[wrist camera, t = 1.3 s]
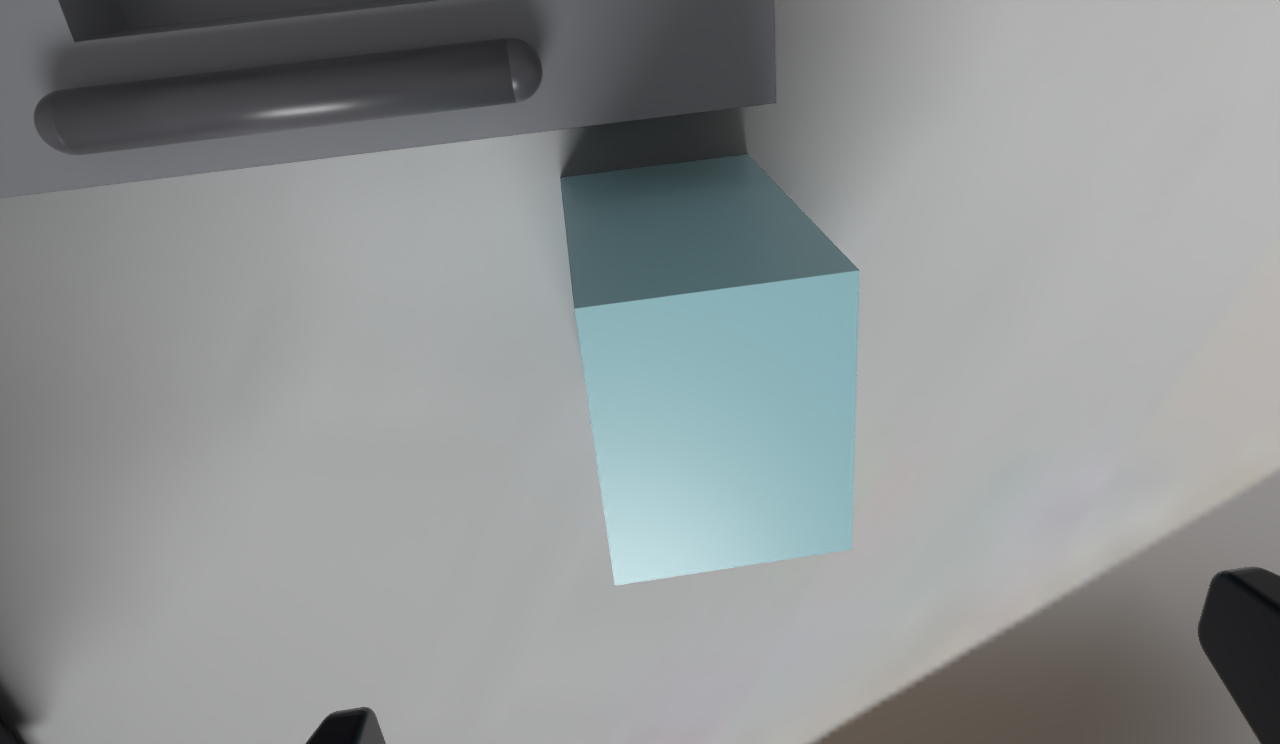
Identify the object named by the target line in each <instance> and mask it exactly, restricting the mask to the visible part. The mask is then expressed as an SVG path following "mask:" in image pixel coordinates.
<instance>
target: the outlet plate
mask: <svg viewBox="0 0 1280 744" xmlns="http://www.w3.org/2000/svg"><path fill="white" fill-rule="evenodd" d="M772 103H776V71H775V21H774V0H0V198H5V197H13V196H21V195H29V194H37V193H45V192H54V191H62V190H70V189H78V188H86V187H94V186H103V185H111V184H119V183H127V182H135V181H143V180H152V179H160V178H168V177H176V176H184V175H192V174H201V173H209V172H217V171H225V170H233V169H241V168H249V167H258V166H266V165H274V164H282V163H290V162H298V161H307V160H315V159H323V158H331V157H339V156H347V155H356V154H364V153H372V152H380V151H388V150H396V149H405V148H413V147H421V146H429V145H437V144H445V143H454V142H462V141H470V140H478V139H486V138H494V137H503V136H511V135H519V134H527V133H535V132H543V131H552V130H560V129H568V128H576V127H584V126H592V125H601V124H609V123H617V122H625V121H633V120H641V119H650V118H658V117H666V116H674V115H682V114H690V113H699V112H707V111H715V110H723V109H731V108H739V107H747V106H756V105H764V104H772Z"/></svg>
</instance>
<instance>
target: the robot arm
mask: <svg viewBox="0 0 1280 744" xmlns="http://www.w3.org/2000/svg"><path fill="white" fill-rule="evenodd" d="M1198 637H1199V641H1200V644H1201V646H1202V649H1203V651H1204V652H1205V654H1206V656H1207V657H1208V659H1209V661H1210V662H1211V664H1212V666H1213V667H1214V669H1215V670H1216V672H1217V673H1218V675H1219V677H1220V679H1221V680H1222V682H1223V683H1224V685H1225V686H1226V688H1227V690H1228V691H1229V693H1230V695H1231V696H1232V698H1233V700H1234V701H1235V703H1236V705H1237V706H1238V708H1239V709H1240V711H1241V713H1242V714H1243V716H1244V718H1245V719H1246V721H1247V722H1248V724H1249V726H1250V727H1251V729H1252V731H1253V732H1254V734H1255V735H1256V737H1257V739H1258V740H1259V742H1260V744H1280V576H1279V575H1276V574H1274V573H1272V572H1270V571H1268V570H1265V569H1262V568H1258V567H1244V568H1238V569H1231V570H1226V571H1221V572H1218V573H1217V574H1216V575H1215V576H1214V577H1213V578H1212V580H1211V582H1210V585H1209V589H1208V592H1207V596H1206V599H1205V603H1204V606H1203V609H1202V613H1201V616H1200V620H1199V623H1198ZM0 744H18V743H17V741H16V740H15V738H14V737H13V735H12V734H11V732H10V731H9V729H8V728H7V726H6V725H5V723H4V722H3V720H2V719H1V717H0ZM306 744H386V743H385V740H384V737H383V735H382V732H381V729H380V726H379V723H378V721H377V718H376V715H375V713H374V712H373V711H372V710H371V709H370V708H368V707H361V708H355V709H348V710H342V711H336V712H333V713H331V714H330V715H328V716H327V717H326V718H325V719H324V720H323V721H322V723H321V724H320V725H319V727H318V728H317V729H316V731H315V732H314V733H313V735H312V736H311V737H310V738H309V740H308V741H307V742H306Z"/></svg>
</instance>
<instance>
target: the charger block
mask: <svg viewBox="0 0 1280 744" xmlns="http://www.w3.org/2000/svg"><path fill="white" fill-rule="evenodd" d="M560 181H561V190H562V199H563V208H564V217H565V227H566V236H567V245H568V254H569V263H570V273H571V282H572V291H573V300H574V309H575V316H576V323H577V330H578V336H579V343H580V350H581V357H582V364H583V371H584V378H585V384H586V391H587V398H588V405H589V412H590V419H591V426H592V432H593V439H594V446H595V453H596V460H597V467H598V474H599V480H600V487H601V494H602V501H603V508H604V515H605V521H606V528H607V535H608V542H609V549H610V556H611V563H612V569H613V576H614V583H615V586H616V585H622V584H629V583H635V582H642V581H648V580H655V579H662V578H668V577H675V576H681V575H688V574H694V573H701V572H707V571H714V570H721V569H727V568H734V567H740V566H747V565H753V564H760V563H766V562H773V561H780V560H786V559H793V558H799V557H806V556H812V555H819V554H825V553H832V552H839V551H845V550H852V521H853V485H854V449H855V413H856V376H857V340H858V304H859V269H858V268H857V267H856V266H855V265H854V264H853V263H852V262H851V261H850V260H849V259H848V258H847V257H846V256H845V255H844V254H843V253H842V252H841V251H840V250H839V249H838V248H837V247H836V246H835V245H834V243H833V242H832V241H831V240H830V239H829V238H828V237H827V236H826V235H825V234H824V233H823V232H822V231H821V230H820V229H819V228H818V227H817V226H816V225H815V224H814V223H813V222H812V221H811V220H810V219H809V218H808V217H807V215H806V214H805V213H804V212H803V211H802V210H801V209H800V208H799V207H798V206H797V205H796V204H795V203H794V202H793V201H792V200H791V199H790V198H789V197H788V196H787V195H786V194H785V193H784V192H783V191H782V190H781V188H780V187H779V186H778V185H777V184H776V183H775V182H774V181H773V180H772V179H771V178H770V177H769V176H768V175H767V174H766V173H765V172H764V171H763V170H762V169H761V168H760V167H759V166H758V165H757V164H756V163H755V162H754V160H753V159H752V158H751V157H750V156H749V155H748V154H744V155H736V156H728V157H720V158H712V159H705V160H697V161H689V162H681V163H673V164H665V165H657V166H649V167H641V168H633V169H625V170H617V171H609V172H601V173H593V174H585V175H577V176H569V177H561V178H560Z"/></svg>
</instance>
